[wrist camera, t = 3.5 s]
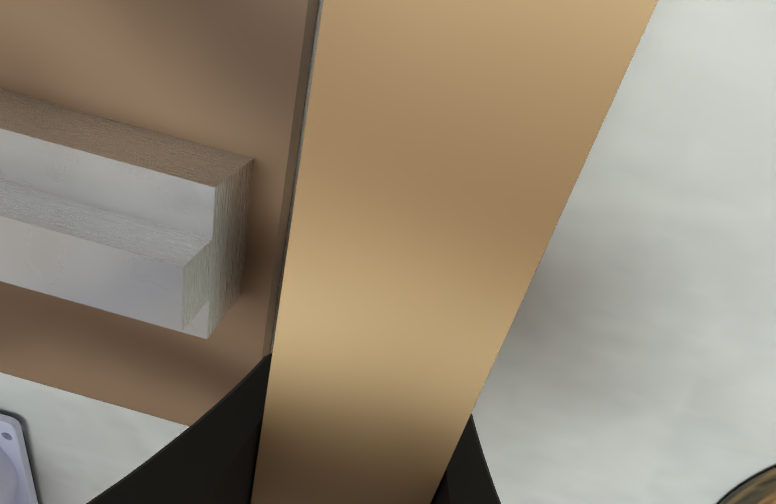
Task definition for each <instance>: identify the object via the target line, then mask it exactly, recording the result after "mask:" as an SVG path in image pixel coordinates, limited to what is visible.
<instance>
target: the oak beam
mask: <svg viewBox="0 0 776 504" xmlns="http://www.w3.org/2000/svg"><path fill="white" fill-rule="evenodd" d="M657 2H658V0H323V6H322V13H321V20H320V27H319V34H318V41H317V48H316V54H315V61H314V68H313V75H312V82H311V89H310V96H309V103H308V110H307V117H306V124H305V131H304V138H303V145H302V152H301V158H300V165H299V172H298V179H297V186H296V193H295V200H294V207H293V214H292V221H291V228H290V235H289V242H288V249H287V255H286V262H285V269H284V276H283V283H282V290H281V297H280V304H279V311H278V318H277V325H276V332H275V339H274V346H273V353H272V359H271V366H270V373H269V380H268V387H267V394H266V401H265V408H264V415H263V422H262V429H261V436H260V443H259V450H258V457H257V463H256V470H255V477H254V484H253V491H252V498H251V504H430V503H431V501H432V499H433V496H434V494H435V492H436V490H437V488H438V485H439V483H440V481H441V479H442V477H443V474H444V472H445V470H446V468H447V465H448V463H449V461H450V459H451V457H452V454H453V452H454V450H455V448H456V446H457V443H458V441H459V439H460V437H461V435H462V432H463V430H464V428H465V426H466V424H467V421H468V419H469V417H470V415H471V412H472V410H473V408H474V406H475V404H476V401H477V399H478V397H479V395H480V393H481V390H482V388H483V386H484V384H485V382H486V379H487V377H488V375H489V373H490V371H491V368H492V366H493V364H494V362H495V359H496V357H497V355H498V353H499V351H500V348H501V346H502V344H503V342H504V340H505V337H506V335H507V333H508V331H509V329H510V326H511V324H512V322H513V320H514V318H515V315H516V313H517V311H518V309H519V306H520V304H521V302H522V300H523V298H524V295H525V293H526V291H527V289H528V287H529V284H530V282H531V280H532V278H533V276H534V273H535V271H536V269H537V267H538V265H539V262H540V260H541V258H542V256H543V253H544V251H545V249H546V247H547V245H548V242H549V240H550V238H551V236H552V234H553V231H554V229H555V227H556V225H557V223H558V220H559V218H560V216H561V214H562V212H563V209H564V207H565V205H566V203H567V200H568V198H569V196H570V194H571V192H572V189H573V187H574V185H575V183H576V181H577V178H578V176H579V174H580V172H581V170H582V167H583V165H584V163H585V161H586V159H587V156H588V154H589V152H590V150H591V147H592V145H593V143H594V141H595V139H596V136H597V134H598V132H599V130H600V128H601V125H602V123H603V121H604V119H605V117H606V114H607V112H608V110H609V108H610V106H611V103H612V101H613V99H614V97H615V95H616V92H617V90H618V88H619V86H620V83H621V81H622V79H623V77H624V75H625V72H626V70H627V68H628V66H629V64H630V61H631V59H632V57H633V55H634V53H635V50H636V48H637V46H638V44H639V42H640V39H641V37H642V35H643V33H644V30H645V28H646V26H647V24H648V22H649V19H650V17H651V15H652V13H653V11H654V8H655V6H656V4H657Z"/></svg>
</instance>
